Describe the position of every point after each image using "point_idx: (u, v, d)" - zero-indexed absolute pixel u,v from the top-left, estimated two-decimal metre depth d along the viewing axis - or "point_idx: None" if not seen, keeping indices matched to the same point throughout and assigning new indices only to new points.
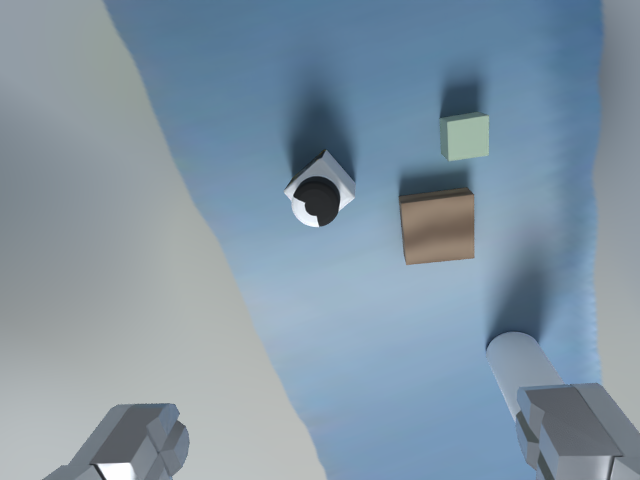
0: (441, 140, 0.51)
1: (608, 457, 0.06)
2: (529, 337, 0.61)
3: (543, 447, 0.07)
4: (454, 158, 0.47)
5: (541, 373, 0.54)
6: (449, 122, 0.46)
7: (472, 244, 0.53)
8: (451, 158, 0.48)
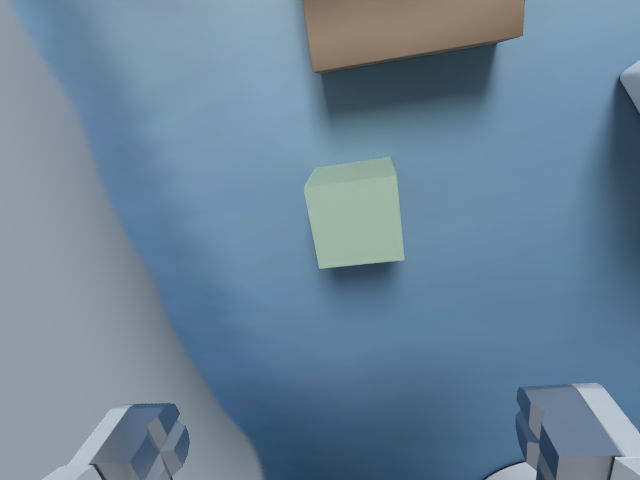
0: None
1: (608, 457, 0.06)
2: None
3: (543, 447, 0.07)
4: (383, 182, 0.19)
5: None
6: (399, 258, 0.21)
7: None
8: (389, 181, 0.19)
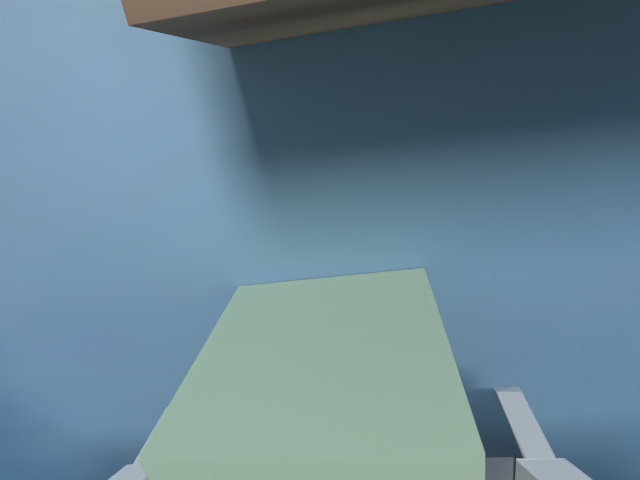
0: None
1: (511, 458, 0.06)
2: None
3: None
4: (429, 468, 0.05)
5: None
6: None
7: None
8: (455, 468, 0.05)
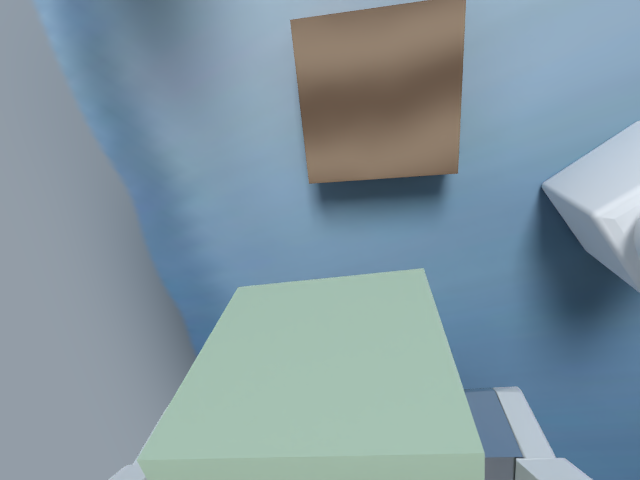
0: None
1: (511, 458, 0.06)
2: None
3: None
4: (428, 468, 0.05)
5: None
6: None
7: (299, 62, 0.22)
8: (455, 469, 0.05)
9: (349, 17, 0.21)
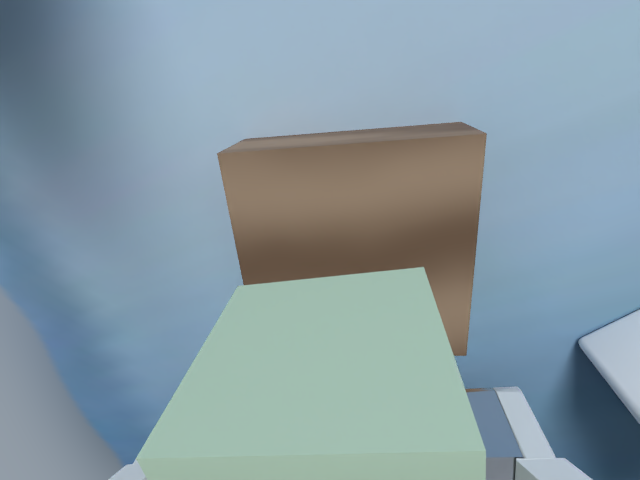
0: None
1: (511, 458, 0.06)
2: None
3: None
4: (429, 466, 0.05)
5: None
6: None
7: (234, 209, 0.15)
8: (456, 467, 0.05)
9: (306, 154, 0.14)
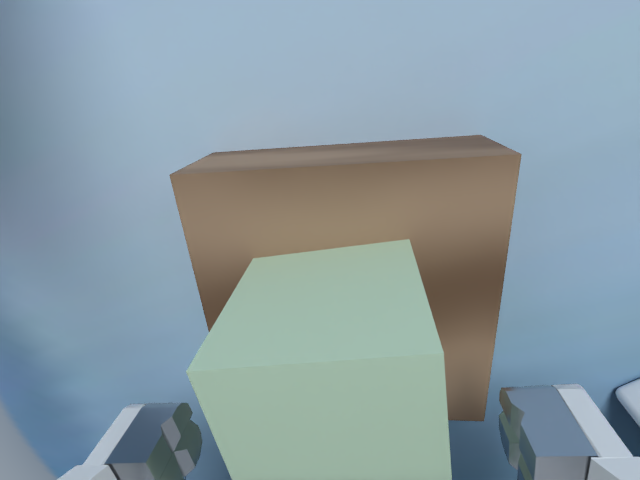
0: None
1: (584, 457, 0.06)
2: None
3: (523, 447, 0.07)
4: (404, 368, 0.07)
5: None
6: None
7: (194, 244, 0.12)
8: (423, 367, 0.07)
9: (284, 178, 0.11)
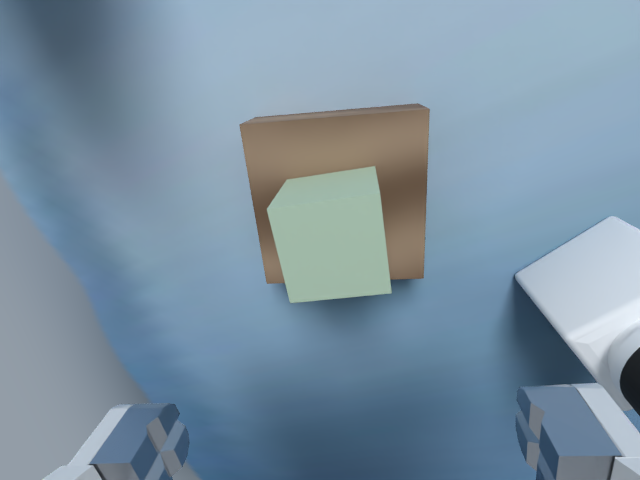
0: None
1: (608, 457, 0.06)
2: None
3: (543, 447, 0.07)
4: (364, 202, 0.15)
5: None
6: (385, 291, 0.17)
7: (251, 166, 0.20)
8: (372, 201, 0.15)
9: (304, 125, 0.19)
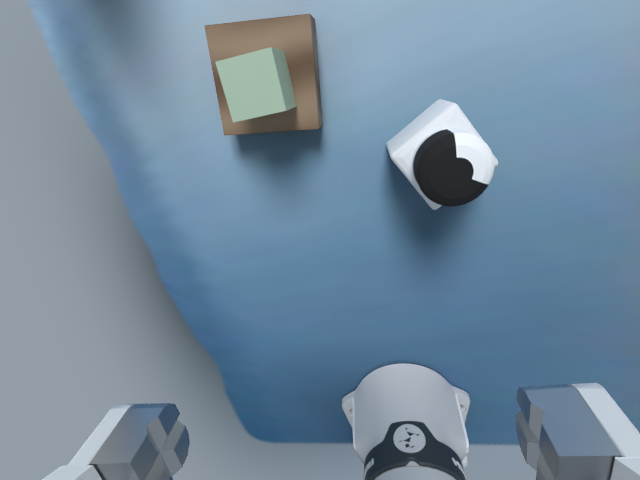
0: (287, 73, 0.34)
1: (608, 457, 0.06)
2: None
3: (543, 447, 0.07)
4: (263, 53, 0.30)
5: None
6: (283, 110, 0.31)
7: (212, 52, 0.35)
8: (267, 52, 0.30)
9: (241, 25, 0.34)
